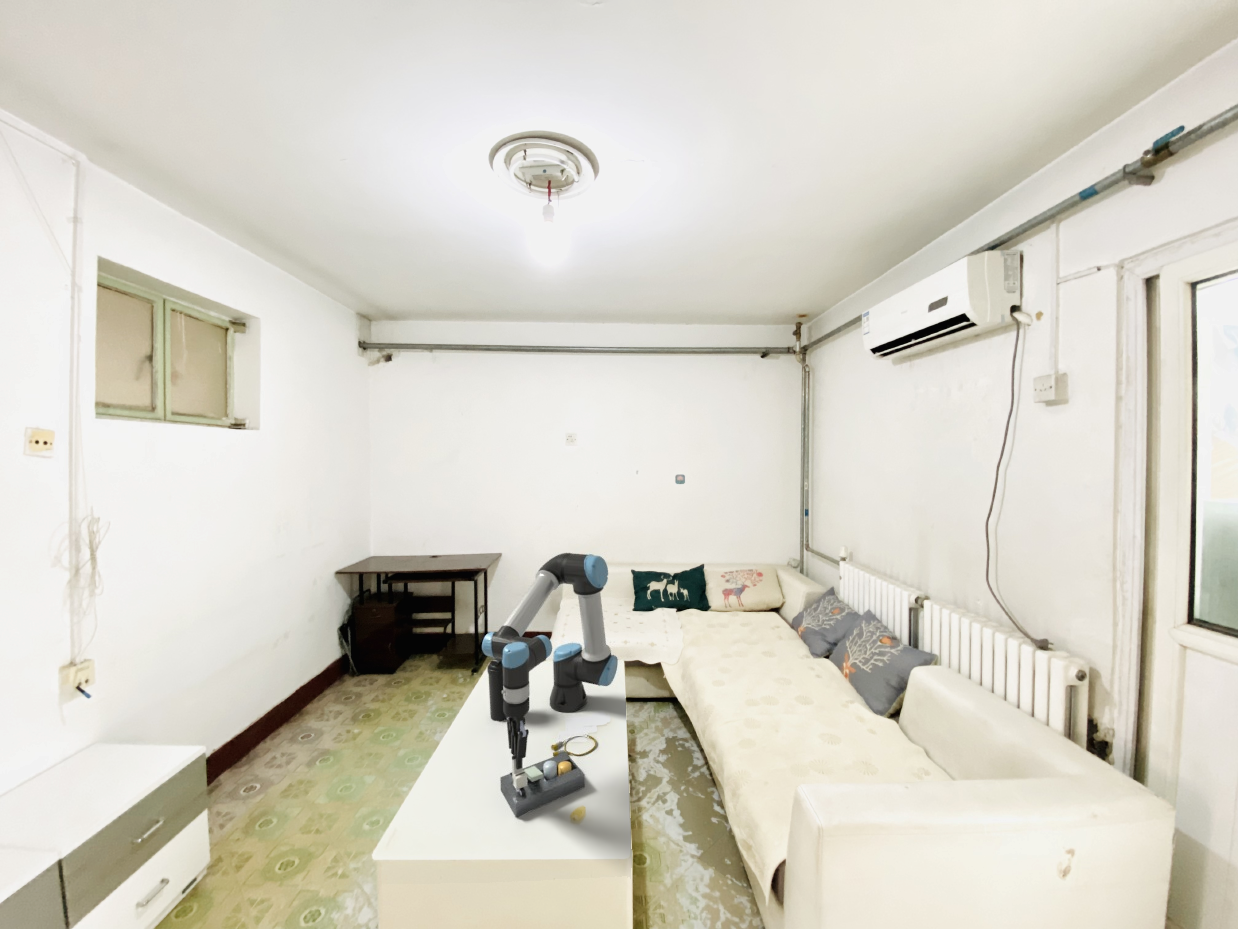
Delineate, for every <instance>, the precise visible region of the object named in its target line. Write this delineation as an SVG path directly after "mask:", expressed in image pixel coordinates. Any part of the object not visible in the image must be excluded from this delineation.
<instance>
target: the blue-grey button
mask: <svg viewBox="0 0 1238 929" xmlns="http://www.w3.org/2000/svg"><path fill="white" fill-rule="evenodd" d="M543 767H544V778H545V780H546V781H548V780H550V779H552V778H555V777H557V763H556V762H555V761H547V762H545V763H544V765H543Z"/></svg>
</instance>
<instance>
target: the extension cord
mask: <svg viewBox="0 0 1238 929" xmlns="http://www.w3.org/2000/svg"><path fill="white" fill-rule="evenodd" d="M586 735H587V737H589V738H588V739H590V740H592V741H594V746H593V747H591V749H589V750H588V751H586V752H584V753H579V754H577V753H573V752H571V751H568V750H567V748H564V749H560V750H559V748H561V747H562V746H563V744H564V747H566V745H567V743H566V742H564V741H565V740H563V741H559V742H556V743H554V744H551V746H550V748H551V750H552V751H553V752H552V757H554V756H557V755H560V754H562V753H565V752H566V753H567V754H568V755H569V757H570V756H571V757H574V756H575V757H581V756H585V755H587V754H590V753H592V752H593V751H594V750H595V748H596V746H597V744H598V743H597V740H596V739H595V737H593V736H592V735H588V734H586Z"/></svg>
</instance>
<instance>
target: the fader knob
mask: <svg viewBox="0 0 1238 929" xmlns="http://www.w3.org/2000/svg"><path fill="white" fill-rule="evenodd" d="M513 781H514V786H515V788H516V790H517V789H520V788H522V787H525V786H527V774H526V773H525V771H524V770H523V771H520V772H518V773H515V774H513Z"/></svg>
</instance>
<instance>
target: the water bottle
mask: <svg viewBox="0 0 1238 929" xmlns="http://www.w3.org/2000/svg"><path fill="white" fill-rule="evenodd" d="M486 670H487V674H488V691H489V692H488V693H489V709H490V710H489V712H490V719H491V720H492V721H495V722H503V721H507V720H506V716H505V714H504V712H503V701H504V698H503V694H502V690H503V664H502V659H499V658H493V659H491V660H490V661H489V663H488V665H487V669H486Z"/></svg>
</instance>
